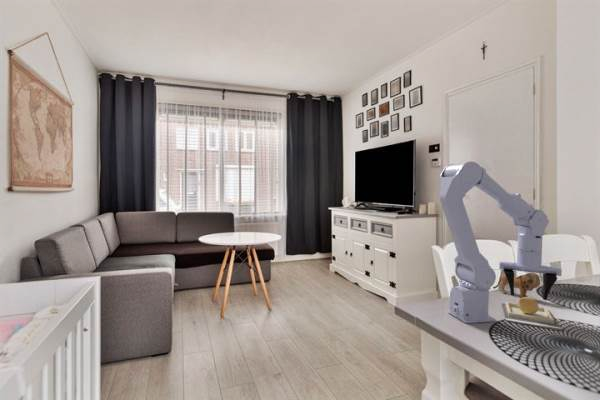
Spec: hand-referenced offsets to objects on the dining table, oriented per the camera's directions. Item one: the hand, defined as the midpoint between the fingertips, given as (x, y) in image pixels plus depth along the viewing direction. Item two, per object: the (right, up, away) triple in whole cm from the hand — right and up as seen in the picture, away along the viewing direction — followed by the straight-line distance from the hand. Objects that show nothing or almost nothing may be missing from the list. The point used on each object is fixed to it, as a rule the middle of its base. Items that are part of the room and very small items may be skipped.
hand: (528, 296), depth 92 cm
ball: (0, -3, 0) cm, 3 cm away
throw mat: (-1, -5, -1) cm, 5 cm away
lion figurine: (+9, -5, +18) cm, 20 cm away
